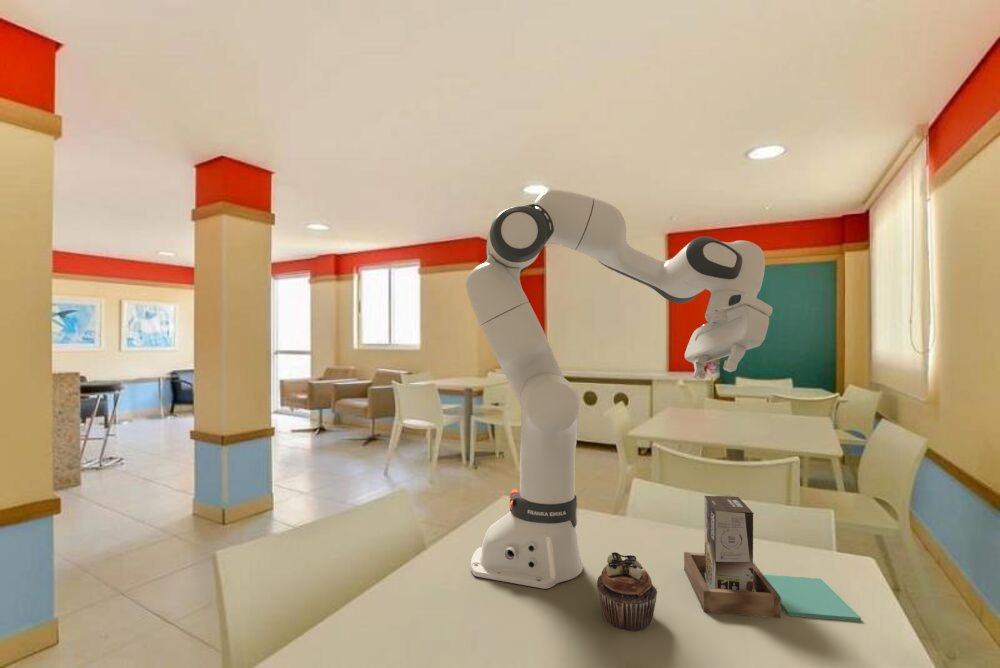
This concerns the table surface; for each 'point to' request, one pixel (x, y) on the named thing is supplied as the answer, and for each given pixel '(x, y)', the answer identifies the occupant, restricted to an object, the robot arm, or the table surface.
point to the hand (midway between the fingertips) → (713, 374)
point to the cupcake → (626, 593)
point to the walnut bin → (732, 592)
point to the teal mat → (810, 598)
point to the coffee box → (728, 543)
